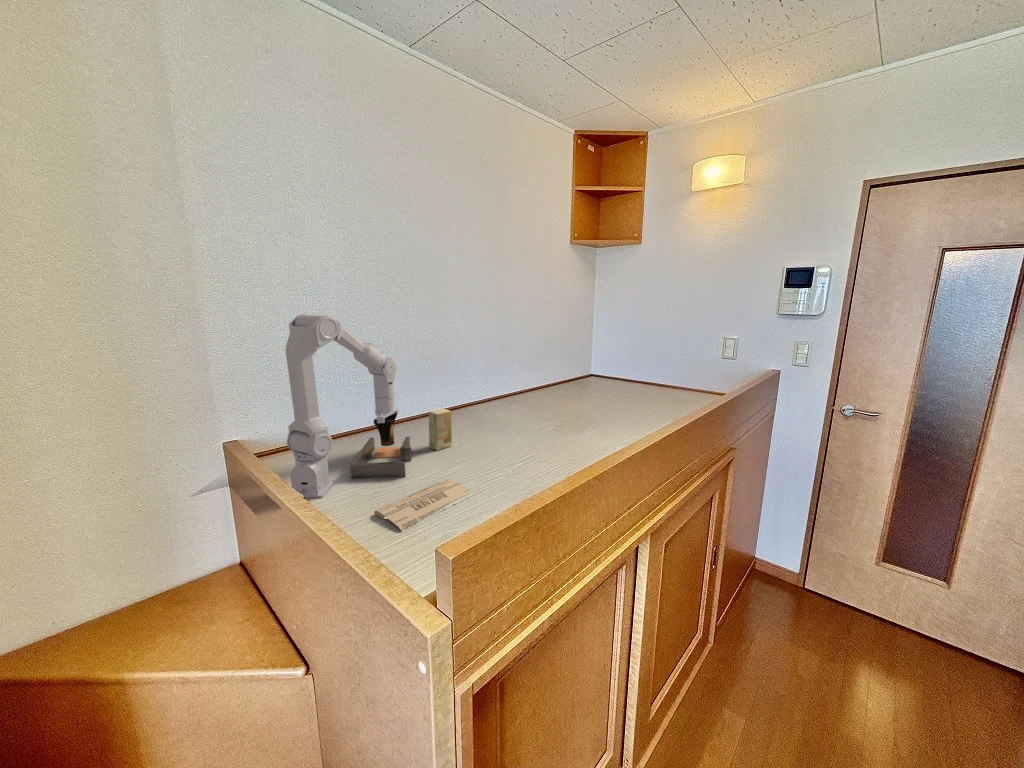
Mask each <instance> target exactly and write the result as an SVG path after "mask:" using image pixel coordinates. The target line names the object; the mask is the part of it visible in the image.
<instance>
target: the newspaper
mask: <svg viewBox="0 0 1024 768" xmlns="http://www.w3.org/2000/svg"><path fill="white" fill-rule="evenodd" d="M439 481H440V482H441V480H439ZM439 481H438V482H436V483H433V484H430V485H429V486H426V487H425V488H423V489H421V490H418V491H416V492H414V493H412V494H409V495H408V496H406V497H405V498H401V499H399V500H398V501H397V500H396V501H394V502H392V503H390V504H388V505H385V506H383V507H381V508H378V509H376V510H374V512H373V513H374V515H375V516H376V517H379V518H381V517H383V518H384V517H387V518H388V521H390V522H392V523H393V524H394V525H395V526H396V527H397V528H399V530H400V532H401V531H402V530H404V529H406V528H408V527H410V526H412V525H414V524H416V523H418V522H419V521H421V520H423V519H424V518H426V517H428V516H429V515H432V514H434V513H435V512H437V511H439V510H440V509H443V508H444V507H446V506H447V505H449V504H450V503H451V502H453V501H455V500H457V499H458V498H461V497H463V496H465V494H468V491H470V490H471V489H470V488H469V487H467V486H465V485H463V484H462V483H460V482H458V481H456V480H453V479H452V478H451V479H449V478H448V479H446V480H442V481H444V482H441V483H439ZM436 484H437V485H436Z"/></svg>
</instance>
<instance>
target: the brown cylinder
mask: <svg viewBox="0 0 1024 768" xmlns="http://www.w3.org/2000/svg"><path fill="white" fill-rule="evenodd" d="M394 432H395V431H394V428H393V424H392V426H391V431H390V440H389V441H386V442H382V440H381V437H380V436H379V437H380V446H382V447H392V446H393V445H394V444H395V434H394Z"/></svg>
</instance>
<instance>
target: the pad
mask: <svg viewBox="0 0 1024 768" xmlns="http://www.w3.org/2000/svg"><path fill="white" fill-rule="evenodd" d="M400 448H401V446H382V447H380V446H379V447H378V448H377V449H375V451H374V452H375V453H374V454H372V455H373V456H372V457H371V458H372V459H386V458H387V459H390V458H394V459H395V458H401V453H400Z"/></svg>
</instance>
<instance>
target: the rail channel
mask: <svg viewBox="0 0 1024 768" xmlns="http://www.w3.org/2000/svg"><path fill="white" fill-rule="evenodd" d="M375 444H376V443H375V437H369V438H368V440H367V441H366V443H365V444H364V446H363V447H362V448H361V449H360V451H359V452H358V453H357V455H356V457H355V458H354V459H353V461H352V462H351V463H350V478H351V480H357V479H358V480H359V479H361V480H363V479H364V480H365V479H387V478H388V479H391V478H406V475H407V473H406V462H411V461H412V446H411V436H406V437H405V438H404V440H403V442H402V445H401V446H400V447H401V448H400V453H401V455H400V461H385V462H384V461H383V462H368V461H369V460H370V458H371V456H372V455H373V453H374V452H375V451H376V446H375Z"/></svg>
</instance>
